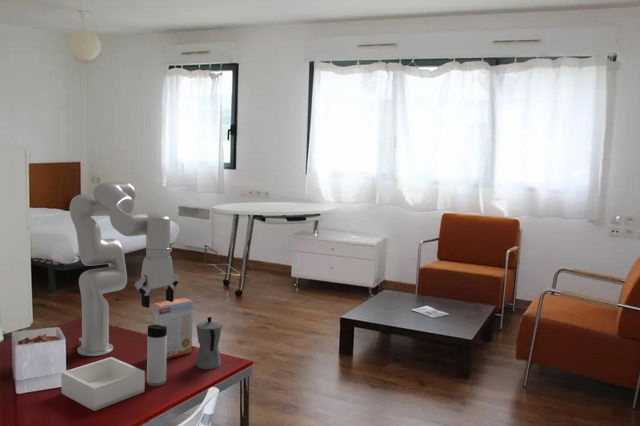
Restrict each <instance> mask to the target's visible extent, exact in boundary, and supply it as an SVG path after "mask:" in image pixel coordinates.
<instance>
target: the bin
mask: <svg viewBox="0 0 640 426" xmlns="http://www.w3.org/2000/svg"><path fill="white" fill-rule="evenodd" d="M60 373H61V376H60V377H61V379H60V380H61V383H60V384H61V394H62V395H64V396H66V397H68V398H69V399H71V400H73V401H75V402H77V403H79V404H80V405H82V406H84V407H86V408H88V409H90V410H92V411H93V412H96V411H98V410H101V409H104V408H106V407H108V406H111V405H113V404H114V405H115V404H117V403H119V402H121V401H124V400H126V399H129V398H132V397H135V396H138V395H140V394H143V393H145V388H146V387H145V383H146V382H145V378H146V376H145V375H146V371H145V370H144V369H143V370H142V369H141V368H138V367H136V366H134V365H131V364H130V363H127V362H124V361H122V360H120V359H118V358H115V357H113V356H111V357H107V358H104V359H100V360H97V361H94V362H91V363H87V364H83V365H81V366H77V367H74V368H72V369H71V368H70V369H67V370H64V371H61V372H60Z"/></svg>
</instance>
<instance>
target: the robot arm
mask: <svg viewBox="0 0 640 426" xmlns="http://www.w3.org/2000/svg"><path fill="white" fill-rule="evenodd" d="M135 199H136V190H135V188H134V186H133V185H132V184H131V183H129V182H127V181H105V182H101V183H98V184H97V185H96V186H95V187H94V188H93V192H92V193H91V192H90V193H82V194H78V195H76V196H73V198H72V199H71V200H70V203H69V214H70V218H71V221H72V223H73V225H74V228H75V232H76V239H77V245H78V253H79V259H80V262H81V263H82V264H83V265H84V266H87V267H88V266H91V267H92V266H99V265H100V266H101V265H108V266H107V267H100V268H92V269H88V270H86V271H84V272H82V273H81V274H80V276H79V277H78V286H79V292H80V298H81V336H80V337H79V338H78V340H79V342H81V345H80V346H79V347H77V353H78V355H81V356H86V357H97V356H98V357H99V356H104V355H107V354H110V353H111V352H112V351H113V350H114V345H113V344H111V343H109V341H110V336H109V333H110V330H109V329H110V326H109V325H110V324H109V323H110V310H109V309H110V305H109V302H108V300H107V299H106V298H105V297H104V295H103V294H107V293H112V292H117V291H121V290H123V289H125V288H126V286H127V284H128V273H127V267H126V260H125V253H124V248H123V245H122V244H121V242H120V241H119V240H118V239H116V238H102V231H101V227H100V225H99V223H98V222H97V221H96V220H95V219H94V218H93V217H97V216H98V217H100V216H101V217H102V216H109V222H110V225H111V226H112V228H113V229H115V231H117V232H118V233H119V234H121V235H122V236H124V237H138V236H146V237H145V243H146V244H145V253H146V254H145V257H144V258H143V262H142V265H141V266H142V267H141V275H140V279H138V280H137V281H136V282H135V283H134V286H135V288H136V291H137V292H138V293H139V295H140V296H141V306H142V308H143V307H144V308H148V309H149V308H150V305H151V303H150V300H151V298H150V297H151V296H150V295H149V294H150V292H151V290H154V289H160V288H165V287H166V289H165V301H170V302H173V300H174V293H175V292H174V291H175V290H176V287H177V285H178V282H179V280H180V277H181V276H180V274H177V273H174V265H173V259H172V256H171V252H172V251H173V248H172V247H171V219H170V217H169V216H167V215H163V214H159V213H157V212H153V211H152V212H151V211H148V212H133V211H134V208H135ZM132 212H133V213H132Z"/></svg>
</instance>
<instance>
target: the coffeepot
mask: <svg viewBox="0 0 640 426" xmlns="http://www.w3.org/2000/svg"><path fill="white" fill-rule="evenodd" d="M212 319H213V318H212V317H211V316H207V320H203V321H202V322H198V323H197V324H196V334H197V340H198V341H197V342H198V344H199V348H198V351H197V355H196V356H197V357H196V362H195V366H196V367H197V368H199V369H202V370H213V369H214V370H215V369H217V368H219V367H220V366H221V364H222V360H221V353H220V347H219V343H220V339H221V334H222V329H223V324H222V323H221V322H219V321H212Z"/></svg>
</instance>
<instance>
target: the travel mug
mask: <svg viewBox="0 0 640 426" xmlns="http://www.w3.org/2000/svg"><path fill="white" fill-rule="evenodd" d="M146 338H147V339H146V340H147V341H146V342H147V343H146V344H147V348H146V349H147V350H146V353H147V354H146V383H147V385H149V386H151V387H159V386H162V385H165V384H166V383H167V359H166V356H167V327H166V326H160V325H153V324H151V325H148V326H147V337H146Z"/></svg>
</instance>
